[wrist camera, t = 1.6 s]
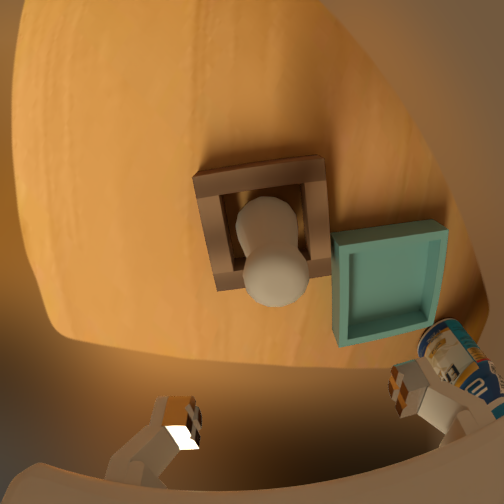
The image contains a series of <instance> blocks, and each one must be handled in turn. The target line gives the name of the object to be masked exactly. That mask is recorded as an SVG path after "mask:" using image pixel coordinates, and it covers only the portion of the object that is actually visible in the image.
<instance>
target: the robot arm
mask: <svg viewBox="0 0 504 504" xmlns="http://www.w3.org/2000/svg"><path fill="white" fill-rule="evenodd" d="M391 374H392V377H390V378H389V382H388V390H389V394H390V397H391V399H392V400H394V401H396V405H395V408H396V411H397V413H398V415H399V417H400V418H403V417H406V416H410V415H413V414H416V413H418V415H419V416H421V417H422V418H424V419H425V420H426V421H428V422H429V423H430V424H432V425H434V426H435V427H436V428H437V429H439V430H440V431H442V432H443V433H444V434H446V435H445V436H444V438H443V440H442V441H441V443H440V445H439V447H440V448H438V449H435V450H433V451H430V452H428V453H425V454H422V455H420V456H417V457H414V458H411V459H409V460H406V461H403V462H400V463H397V464H393V465H390V466H387V467H384V468H380V469H377V470H373V471H370V472H366V473H362V474H358V475H354V476H349V477H345V478H340V479H336V480H331V481H325V482H320V483H314V484H309V485H302V486H294V487H286V488H276V489H266V490H252V491H186V490H171V489H167V487H166V486H165V485H164V484H163V483H162V482H161V481H160V480H159V479H158V476H159V475H160V474H161V473H162V472H163V470H164V469H165V468H166V467H167V466H168V464H169V463H170V462H171V461H172V459H173V458H174V457H175V456H176V454H177V453H178V452H179V451H180V449H199V445H200V434H199V432H198V431H199V430H200V429H201V428H202V415H201V411H200V409H199V407H197V406H196V400H195V398H194V397H193V396H158V397H157V399H156V402H155V405H154V409H153V413H152V416H151V420H150V424H149V426H145V427H144V428H143V429H142V430H141V431H140V432H138V433H137V434H136V435H135V436H134V437H133V438H132V439H131V440H130V441H128V442H127V443H126V444H125V445H124V446H123V447H122V448H120V449H119V450H118V451H117V452H116V453H115V454H114V455H112V456H111V459H110V462H109V465H108V468H107V472H106V475H105V479H104V480H103V479H98V478H94V477H89V476H85V475H81V474H77V473H73V472H70V471H67V470H63V469H60V468H56V467H53V466H50V465H47V464H43V463H36V464H34V465H32V466H31V467H29V468H27V469H26V470H24V471H23V472H21V473H20V474H18V475H17V476H16V477H15V478H14V479H13V480H12V482H11V483H10V485H9V487H8V489H7V491H6V493H5V495H4V498H3V500H2V502H1V504H504V416H502V417H500V418H498V419H497V420H496V419H495V417H494V415H493V414H492V412H491V410H490V409H489V407H488V405H487V404H486V402H485V401H484V400H483V399H481V398H479V397H477V396H474V395H472V394H470V393H468V392H466V391H464V390H462V389H460V388H458V387H456V386H454V385H452V384H450V383H448V382H446V381H442V382H441V380H440V378H439V377H438V375H437V374H436V372H435V370H434V369H433V367H432V366H431V364H430V363H429V361H428V359H427V358H426V357H421V358H417V359H414V360H410V361H407V362H403V363H400V364H397V365H393V366H392V368H391Z"/></svg>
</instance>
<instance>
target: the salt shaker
mask: <svg viewBox="0 0 504 504" xmlns="http://www.w3.org/2000/svg"><path fill="white" fill-rule="evenodd" d="M235 227H236V232H237V236H238V240H239V242H240V244H241V247H242V249H243V251H244V253H245V256H246V258H247V259H246V262H245V266H244V270H243V279H244V283H245V287H246V290H247V293H248V294H249V295H250V296H251V297H252V298H253V299H254V300H255V301H256V302H258V303H260V304H263V305H265V306H267V307H283V306H285V305H288V304H290V303H293V302H295V301H296V300H297V299H298V298H299V297H300V296H301V295H302V294H303V293H304V292H305V290H306V287H307V285H308V282H309V272H308V265H307V261H306V260H305V258H304V257H303V255H302V254H301V253H300V251H299V250H298V223H297V218H296V214H295V212H294V211H293V210H292V208H291V207H290V206H289V204H288V203H287V202H284V201H282V200H280V199H278V198H276V197H269V196H260V197H258V198H256V199H254V200H251V201H249V202H248V203H247V204H246V205H245V206H244V207H243V208H242V210H241V211H240V212H239V213H238V217H237V221H236V226H235Z"/></svg>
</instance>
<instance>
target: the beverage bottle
mask: <svg viewBox="0 0 504 504" xmlns="http://www.w3.org/2000/svg"><path fill="white" fill-rule="evenodd" d="M418 355H419V357H420V358H421V357H426V358H427V359H428V361H429V363H430V364H431V366H432V367H433V369H434V370H435V372H436V374H437V375H438V377H439V378H440V380H441V382H442V381H446V382H448V383H450V384H452V385H454V386H456V387H458V388H460V389H462V390H464V391H466V392H468V393H470V394H472V395H474V396H477V397H479V398H481V399H483V400H484V401H485V402H486V404H487V405H488V407H489V409H490V410H491V412H492V414H493V415H494V417H495V419H496V420H497V419H498V418H500V417H502V416H504V382H503V378H502V377H501V375H499V374H496V370H495V366H494V364H493V363H492V361H491V360H490V359H488V358H487V357H486V356H485V355H484V353H483V352H482V351H481V349H480V348H479V347H478V345H477V344H476V343H475V342H474V341H473V339H472V338H471V337H470V336H469V334H468V333H467V332H466V331H465V329H464V328H463V327H462V325H461V324H460V323H459V322H458V321H457V320H456V319H453V318H447V319H443V320H440V321H438V322H437V323H435V324H434V325H432V326H431V327H430V328H429V329H428V330H427V331H426V332H425V333H424V335H423V336H422V338H421V339H420V341H419V344H418Z"/></svg>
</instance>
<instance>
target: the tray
mask: <svg viewBox="0 0 504 504" xmlns="http://www.w3.org/2000/svg"><path fill="white" fill-rule="evenodd" d="M448 231H449V229H447V228H446V227H444V226H443V225H441V224H440V223H438V222H437V221H435V220H433V219H429V220H421V221H414V222H406V223H399V224H391V225H384V226H377V227H369V228H362V229H355V230H348V231H340V232H333V233H330V243H331V267H332V330H333V333H334V336H335V338H336V341H337V344H338V347H339V348H340V347H345V346H350V345H355V344H359V343H364V342H369V341H373V340H378V339H382V338H386V337H390V336H395V335H399V334H403V333H407V332H410V331H414V330H418V329H422V328H425V327H429V326H432V325H433V323H434V319H435V314H436V309H437V305H438V300H439V295H440V289H441V284H442V278H443V271H444V265H445V258H446V250H447V241H448Z"/></svg>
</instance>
